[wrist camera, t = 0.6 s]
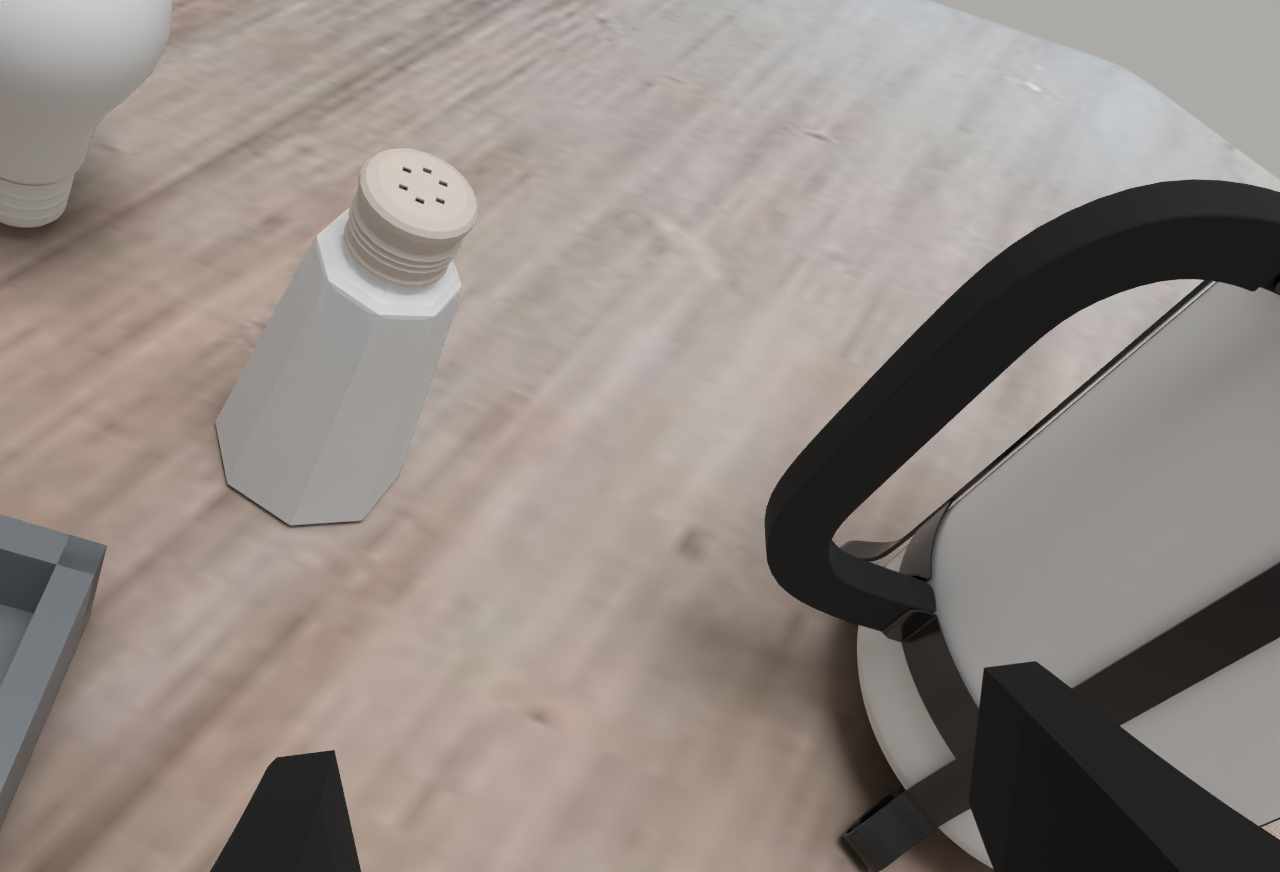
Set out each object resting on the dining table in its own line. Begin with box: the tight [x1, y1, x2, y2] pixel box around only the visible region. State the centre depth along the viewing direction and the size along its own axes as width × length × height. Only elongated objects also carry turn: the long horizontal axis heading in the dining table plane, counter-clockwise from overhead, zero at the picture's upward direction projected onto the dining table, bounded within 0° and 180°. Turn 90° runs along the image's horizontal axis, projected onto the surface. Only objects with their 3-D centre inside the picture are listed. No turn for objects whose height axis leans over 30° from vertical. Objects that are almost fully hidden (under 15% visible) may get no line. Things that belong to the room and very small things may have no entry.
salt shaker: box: [215, 148, 478, 525], centre depth 31 cm, size 5×5×11 cm
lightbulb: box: [0, 0, 172, 228], centre depth 32 cm, size 6×6×11 cm
